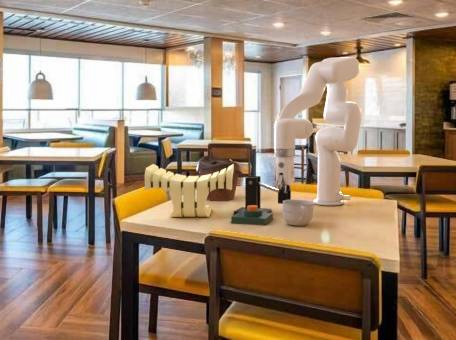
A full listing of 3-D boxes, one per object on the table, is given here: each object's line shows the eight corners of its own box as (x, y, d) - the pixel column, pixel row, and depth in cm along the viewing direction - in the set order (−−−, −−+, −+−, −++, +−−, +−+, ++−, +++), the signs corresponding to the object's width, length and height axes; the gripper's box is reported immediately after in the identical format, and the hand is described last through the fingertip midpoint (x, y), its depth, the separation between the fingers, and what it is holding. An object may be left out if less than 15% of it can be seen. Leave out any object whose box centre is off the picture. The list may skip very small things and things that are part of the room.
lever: (287, 196, 201) (289, 190, 200) (284, 198, 196) (286, 192, 195) (250, 182, 203) (252, 176, 203) (246, 184, 198) (248, 178, 198)
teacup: (281, 220, 189) (282, 198, 188) (312, 220, 190) (312, 198, 189) (283, 230, 176) (283, 205, 175) (316, 229, 177) (316, 205, 176)
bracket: (271, 211, 205) (271, 175, 203) (264, 216, 196) (265, 179, 194) (241, 210, 207) (241, 174, 206) (233, 214, 198) (233, 177, 197)
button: (258, 210, 189) (259, 205, 189) (255, 212, 186) (255, 207, 185) (249, 209, 190) (249, 204, 190) (245, 211, 186) (245, 206, 186)
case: (240, 202, 223) (240, 159, 220) (192, 201, 223) (191, 158, 221) (246, 195, 240) (246, 155, 238) (201, 194, 240) (201, 154, 238)
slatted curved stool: (145, 219, 189) (144, 168, 187) (154, 210, 204) (153, 163, 202) (231, 218, 192) (231, 169, 189) (233, 209, 207) (233, 163, 205)
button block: (272, 219, 192) (272, 208, 191) (264, 225, 182) (264, 213, 182) (240, 217, 194) (240, 206, 194) (231, 223, 185) (231, 211, 184)
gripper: (289, 155, 187) (288, 206, 190) (299, 151, 204) (299, 198, 206) (268, 155, 189) (268, 205, 191) (280, 151, 206) (280, 197, 208)
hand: (284, 201), depth 199 cm, fingers closed on lever, 5 cm apart
